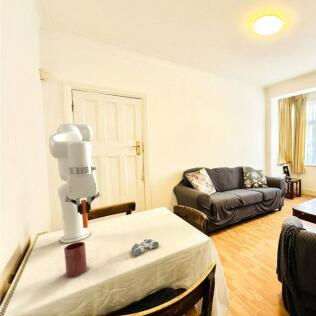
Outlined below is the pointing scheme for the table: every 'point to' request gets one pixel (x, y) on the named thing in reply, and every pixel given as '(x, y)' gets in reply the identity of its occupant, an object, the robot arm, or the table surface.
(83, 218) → the solid orange cylinder
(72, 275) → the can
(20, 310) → the table surface
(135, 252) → the binoculars
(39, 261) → the table surface
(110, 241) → the table surface
